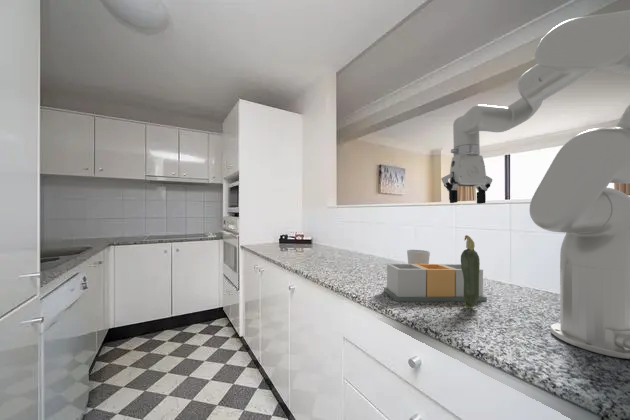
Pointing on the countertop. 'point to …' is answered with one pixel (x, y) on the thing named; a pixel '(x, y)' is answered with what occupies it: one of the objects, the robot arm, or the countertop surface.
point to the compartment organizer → (428, 282)
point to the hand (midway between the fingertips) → (467, 203)
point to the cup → (418, 256)
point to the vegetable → (470, 273)
